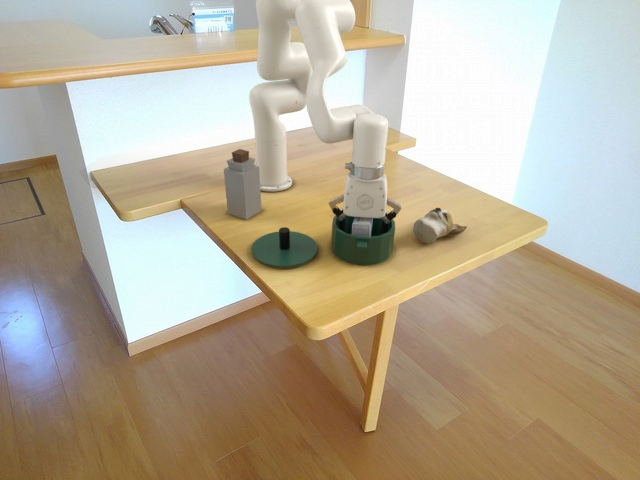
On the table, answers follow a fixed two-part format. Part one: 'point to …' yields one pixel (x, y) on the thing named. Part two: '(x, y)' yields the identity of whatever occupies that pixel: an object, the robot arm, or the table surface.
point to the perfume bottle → (242, 185)
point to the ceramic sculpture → (436, 226)
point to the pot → (362, 243)
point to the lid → (284, 249)
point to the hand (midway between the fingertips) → (362, 233)
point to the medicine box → (362, 226)
